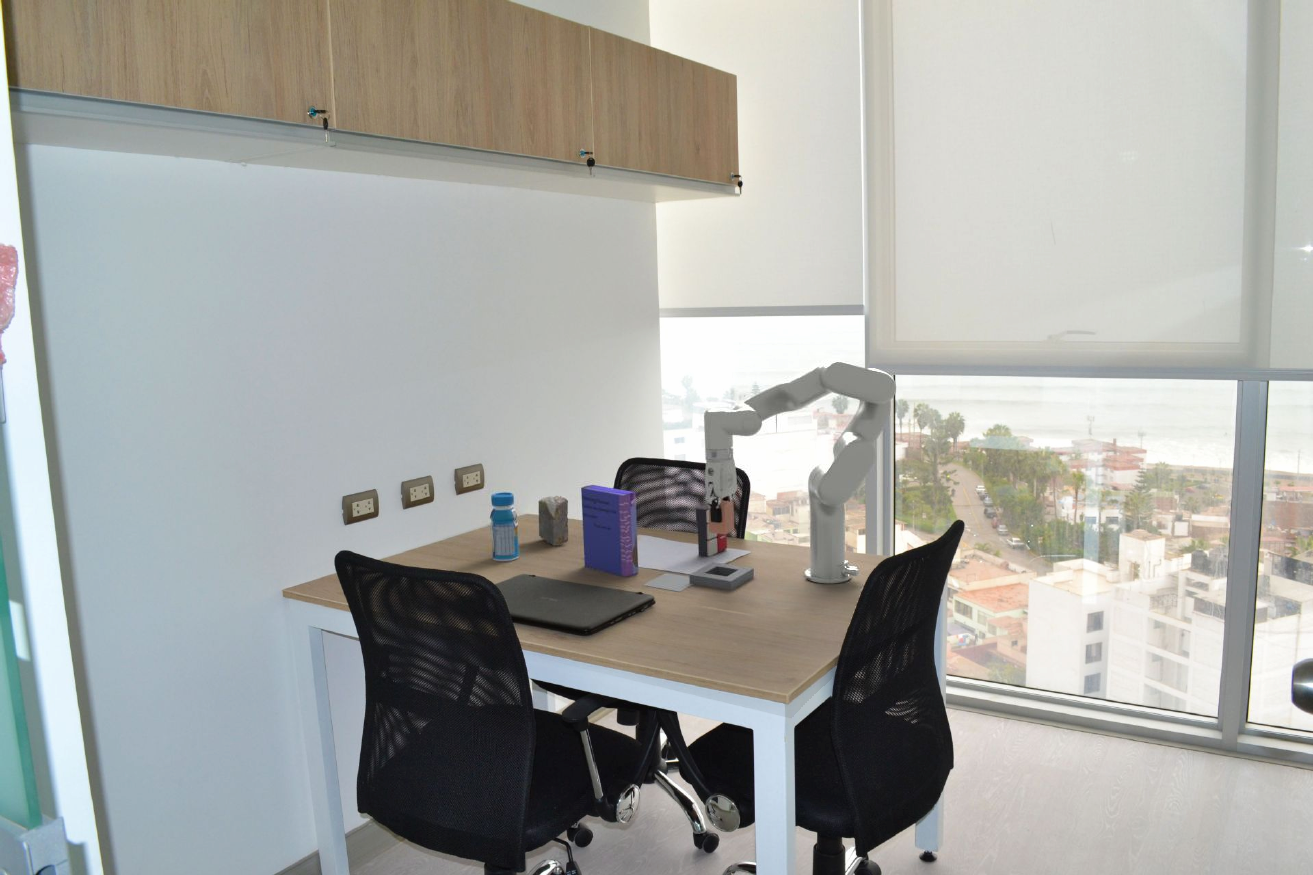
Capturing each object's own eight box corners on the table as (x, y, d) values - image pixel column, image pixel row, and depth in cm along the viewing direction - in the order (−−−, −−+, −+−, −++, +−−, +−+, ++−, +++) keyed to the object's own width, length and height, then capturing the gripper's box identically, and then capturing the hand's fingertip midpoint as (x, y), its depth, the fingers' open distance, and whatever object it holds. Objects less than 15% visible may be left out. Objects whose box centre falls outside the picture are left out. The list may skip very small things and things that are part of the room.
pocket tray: (753, 578, 271) (753, 568, 271) (731, 592, 260) (731, 581, 260) (713, 572, 278) (712, 561, 278) (689, 584, 267) (689, 574, 267)
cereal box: (638, 573, 279) (635, 491, 275) (626, 577, 276) (623, 494, 272) (596, 562, 291) (592, 484, 287) (584, 566, 288) (581, 487, 284)
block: (734, 529, 268) (733, 501, 266) (725, 534, 263) (724, 505, 262) (718, 528, 270) (717, 499, 269) (709, 532, 266) (708, 503, 265)
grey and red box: (708, 558, 291) (707, 509, 289) (696, 556, 294) (695, 508, 291) (728, 549, 300) (727, 502, 297) (716, 547, 302) (715, 500, 300)
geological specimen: (538, 540, 318) (536, 495, 315) (555, 537, 321) (553, 492, 319) (553, 547, 309) (551, 501, 306) (570, 544, 312) (568, 498, 310)
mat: (702, 581, 270) (702, 579, 270) (679, 593, 260) (679, 591, 260) (666, 575, 277) (666, 573, 277) (642, 587, 267) (642, 584, 267)
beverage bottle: (501, 563, 293) (497, 499, 290) (486, 558, 299) (482, 494, 296) (525, 557, 298) (521, 494, 295) (510, 552, 305) (506, 490, 301)
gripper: (715, 460, 254) (718, 528, 257) (746, 449, 268) (748, 513, 271) (691, 459, 258) (693, 525, 261) (722, 447, 272) (724, 511, 275)
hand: (721, 518), depth 266 cm, fingers closed on block, 5 cm apart
